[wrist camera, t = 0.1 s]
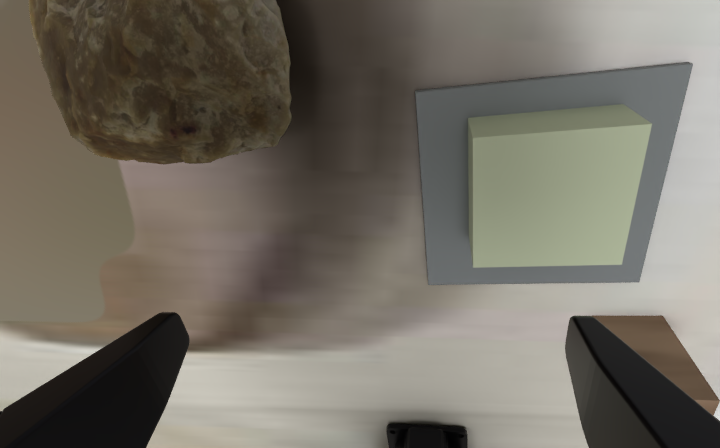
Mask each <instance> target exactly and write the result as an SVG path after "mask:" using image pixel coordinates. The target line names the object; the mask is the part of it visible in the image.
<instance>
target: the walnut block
mask: <svg viewBox="0 0 720 448" xmlns="http://www.w3.org/2000/svg"><path fill="white" fill-rule="evenodd" d="M592 317H594V318H596V319H597V320H598V321H600V322H601V323H602V324H603V325H604V326H606V327H607V328H608V329H609V330H610V331H612V332H613V333H614V334H615V335H616V336H618V337H619V338H620V339H621V340H622V341H624V342H625V343H626V344H627V345H629V346H630V347H631V348H632V349H633V350H635V351H636V352H637V353H638V354H639V355H641V356H642V357H643V358H644V359H645V360H647V361H648V362H649V363H650V364H651V365H653V366H654V367H655V368H656V369H658V370H659V371H660V372H661V373H662V374H664V375H665V376H666V377H667V378H668V379H670V380H671V381H672V382H673V383H674V384H676V385H677V386H678V387H679V388H680V389H682V390H683V391H684V392H685V393H686V394H688V395H689V396H690V397H691V398H693V399H694V400H695V401H696V402H697V403H699V404H700V405H701V406H702V407H703V408H705V409H706V410H707V411H708V412H709V413H711V414H712V415H714V413H715V410H716V408H717V406H718V404H719V401H720V400H719V399H718V397H717V396H716V394H715V393H714V391H713V390H712V388H711V387H710V385H709V384H708V382H707V381H706V380H705V378H704V377H703V375H702V374H701V372H700V371H699V369H698V368H697V366H696V365H695V363H694V362H693V360H692V359H691V357H690V356H689V354H688V353H687V351H686V350H685V348H684V347H683V345H682V344H681V342H680V341H679V339H678V338H677V336H676V335H675V333H674V332H673V330H672V329H671V327H670V326H669V324H668V323H667V321H666V320H665V318H664V317H663V316H592Z"/></svg>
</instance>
